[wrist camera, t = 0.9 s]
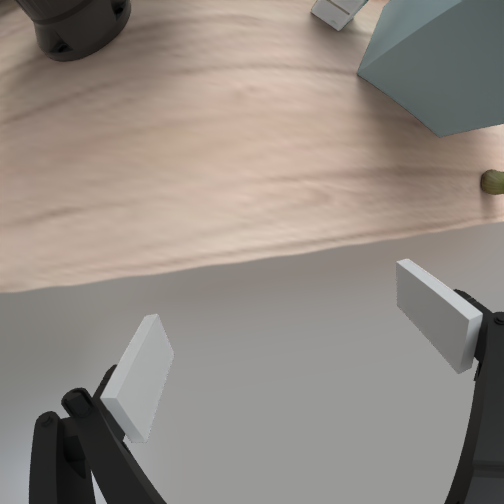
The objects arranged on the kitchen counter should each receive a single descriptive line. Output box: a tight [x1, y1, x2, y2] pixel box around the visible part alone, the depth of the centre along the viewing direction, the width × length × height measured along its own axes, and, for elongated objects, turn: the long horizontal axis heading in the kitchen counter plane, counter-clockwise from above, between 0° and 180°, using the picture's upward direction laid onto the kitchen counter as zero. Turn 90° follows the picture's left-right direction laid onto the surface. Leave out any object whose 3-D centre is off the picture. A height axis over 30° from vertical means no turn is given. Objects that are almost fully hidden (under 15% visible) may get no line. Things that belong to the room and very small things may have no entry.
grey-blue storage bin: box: [357, 0, 504, 137], centre depth 23 cm, size 18×20×31 cm
